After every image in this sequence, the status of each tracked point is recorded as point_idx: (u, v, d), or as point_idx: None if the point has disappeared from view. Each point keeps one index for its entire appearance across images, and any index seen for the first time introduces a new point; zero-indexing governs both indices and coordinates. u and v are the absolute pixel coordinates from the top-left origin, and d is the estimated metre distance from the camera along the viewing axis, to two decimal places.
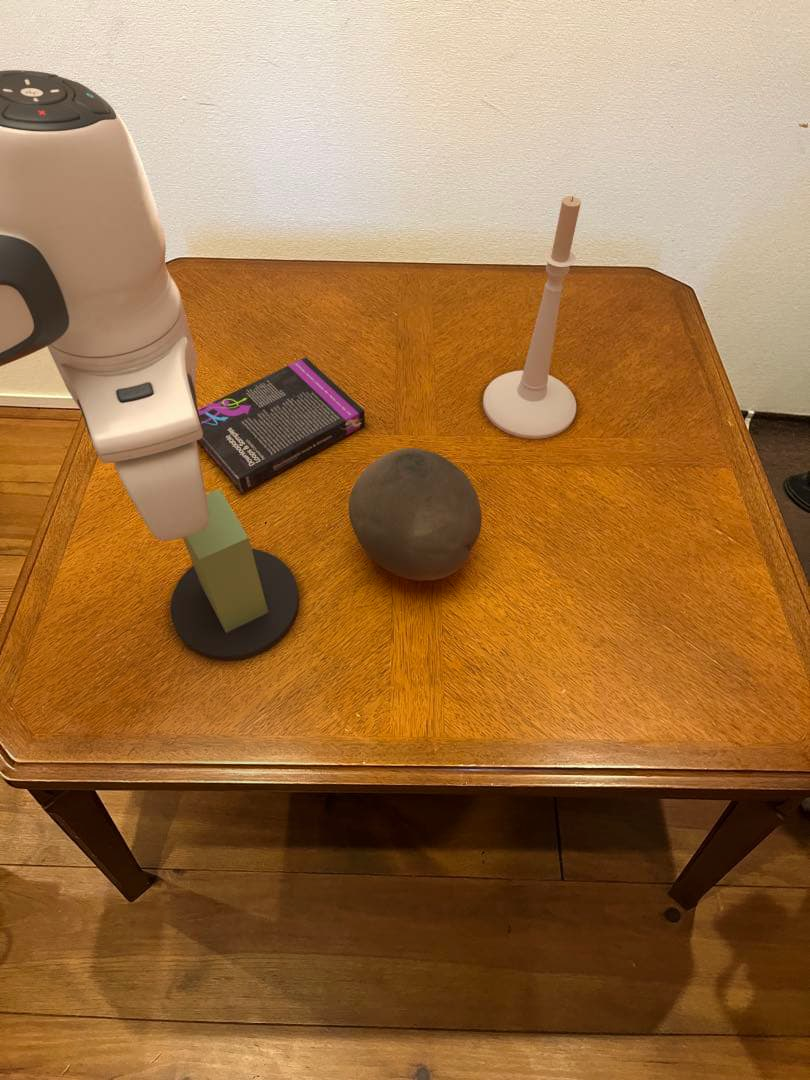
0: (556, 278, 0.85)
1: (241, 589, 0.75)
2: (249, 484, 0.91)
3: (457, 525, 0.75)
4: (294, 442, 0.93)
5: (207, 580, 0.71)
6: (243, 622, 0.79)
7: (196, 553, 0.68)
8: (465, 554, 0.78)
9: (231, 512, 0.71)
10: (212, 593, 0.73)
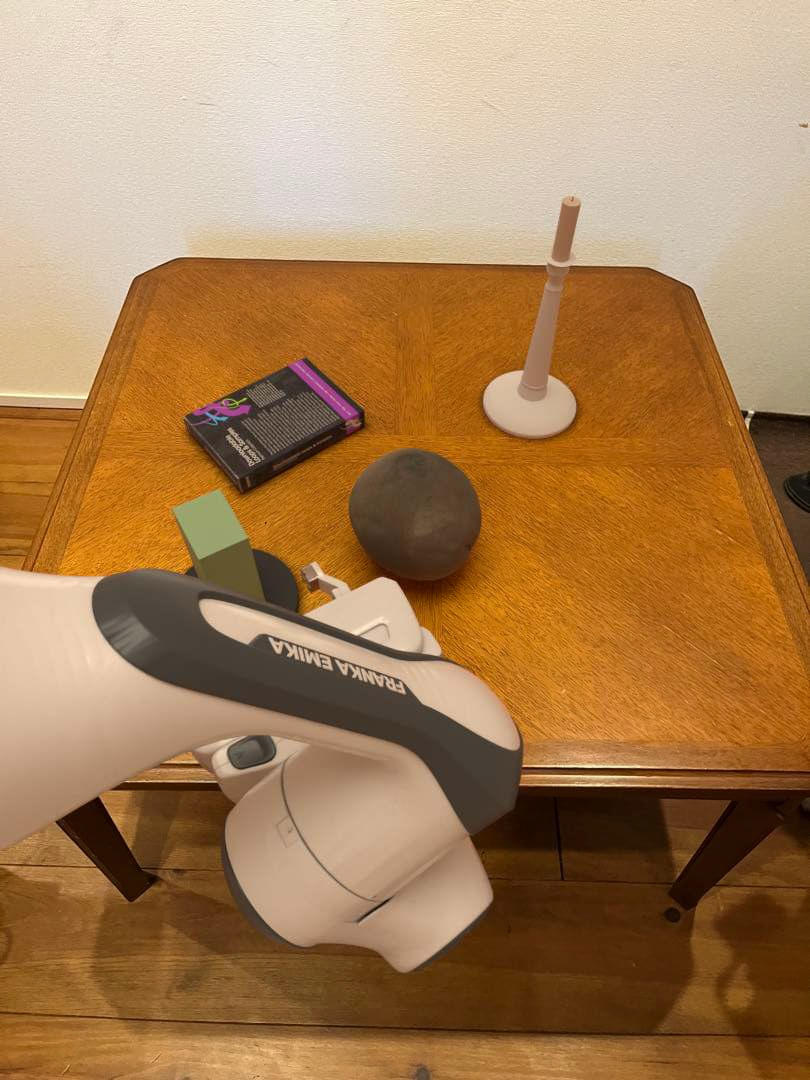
0: (556, 278, 0.85)
1: (241, 589, 0.75)
2: (249, 484, 0.91)
3: (457, 525, 0.75)
4: (294, 442, 0.93)
5: (207, 580, 0.71)
6: None
7: (196, 553, 0.68)
8: (465, 554, 0.78)
9: (231, 512, 0.71)
10: None
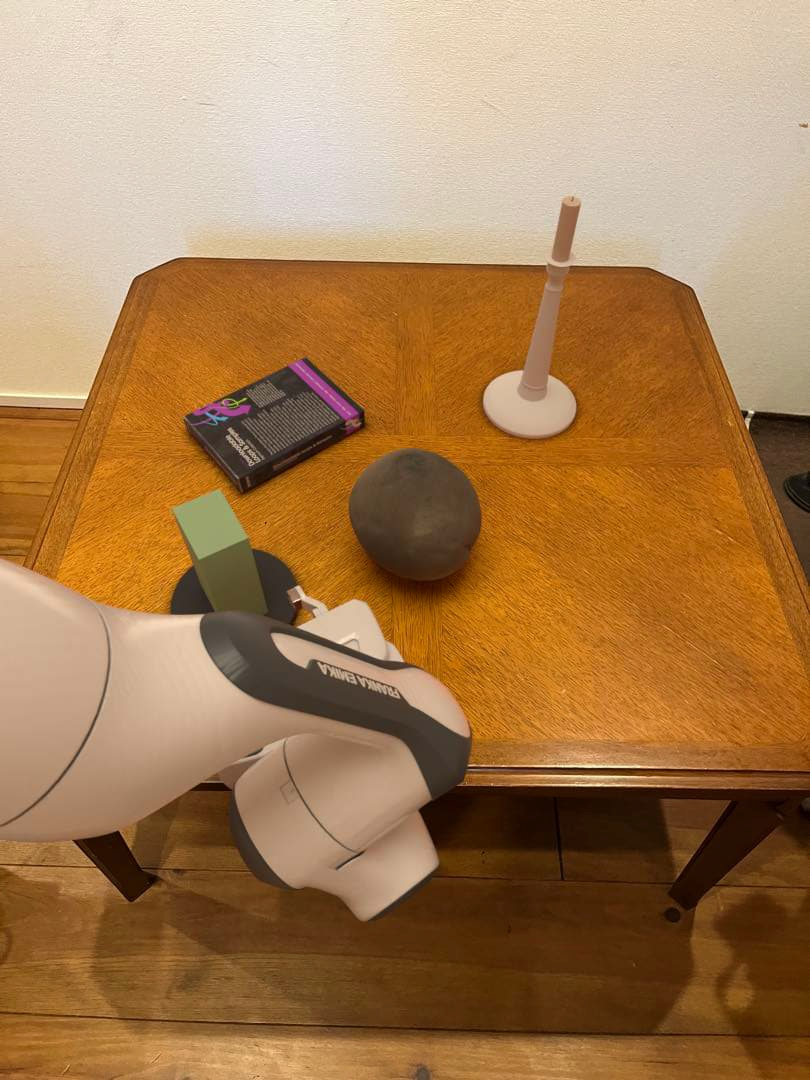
0: (556, 278, 0.85)
1: (241, 589, 0.75)
2: (249, 484, 0.91)
3: (457, 525, 0.75)
4: (294, 442, 0.93)
5: (207, 580, 0.71)
6: None
7: (196, 553, 0.68)
8: (465, 554, 0.78)
9: (231, 512, 0.71)
10: (212, 593, 0.73)
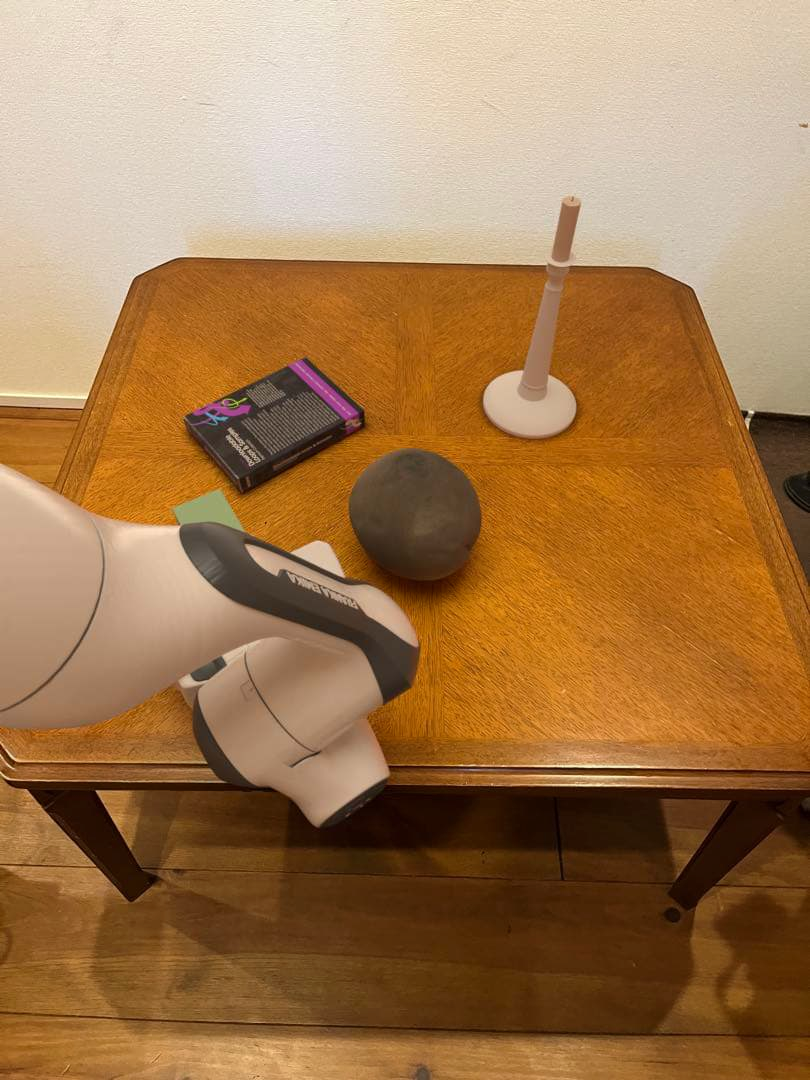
0: (556, 278, 0.85)
1: None
2: (249, 484, 0.91)
3: (457, 525, 0.75)
4: (294, 442, 0.93)
5: None
6: None
7: None
8: (465, 554, 0.78)
9: (232, 512, 0.71)
10: None
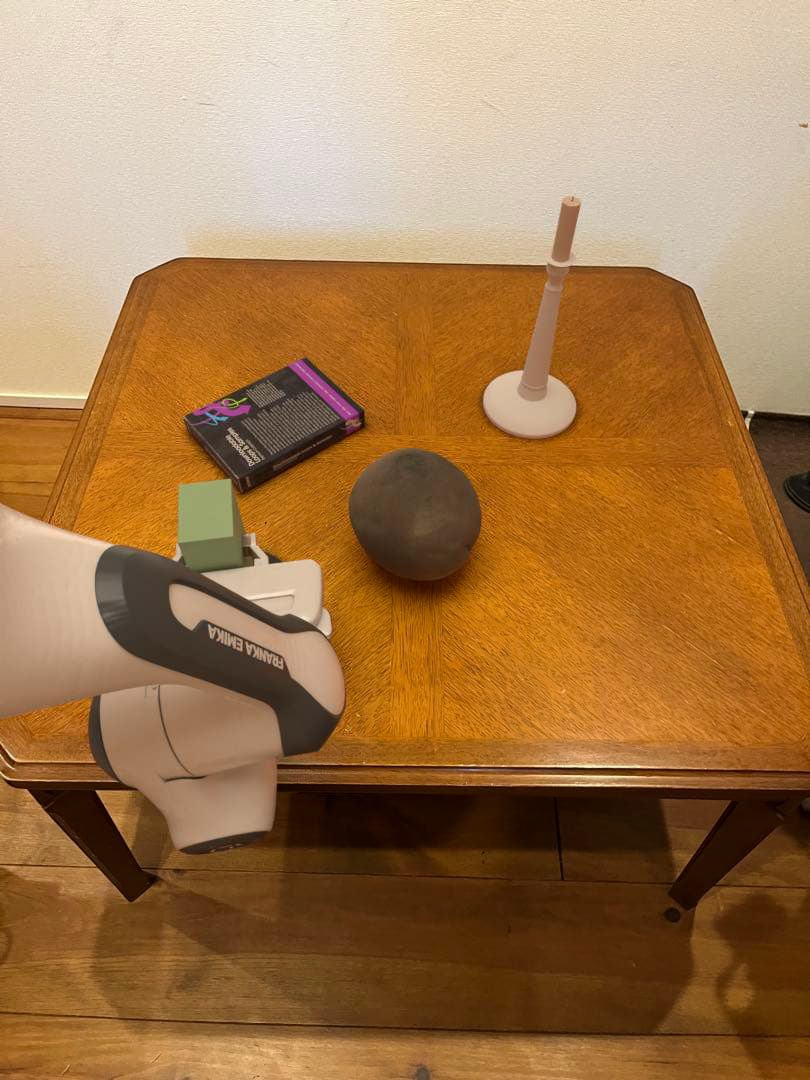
0: (556, 278, 0.85)
1: None
2: (249, 484, 0.91)
3: (457, 525, 0.75)
4: (294, 442, 0.93)
5: (187, 565, 0.69)
6: None
7: (178, 536, 0.67)
8: (465, 554, 0.78)
9: (230, 505, 0.69)
10: None
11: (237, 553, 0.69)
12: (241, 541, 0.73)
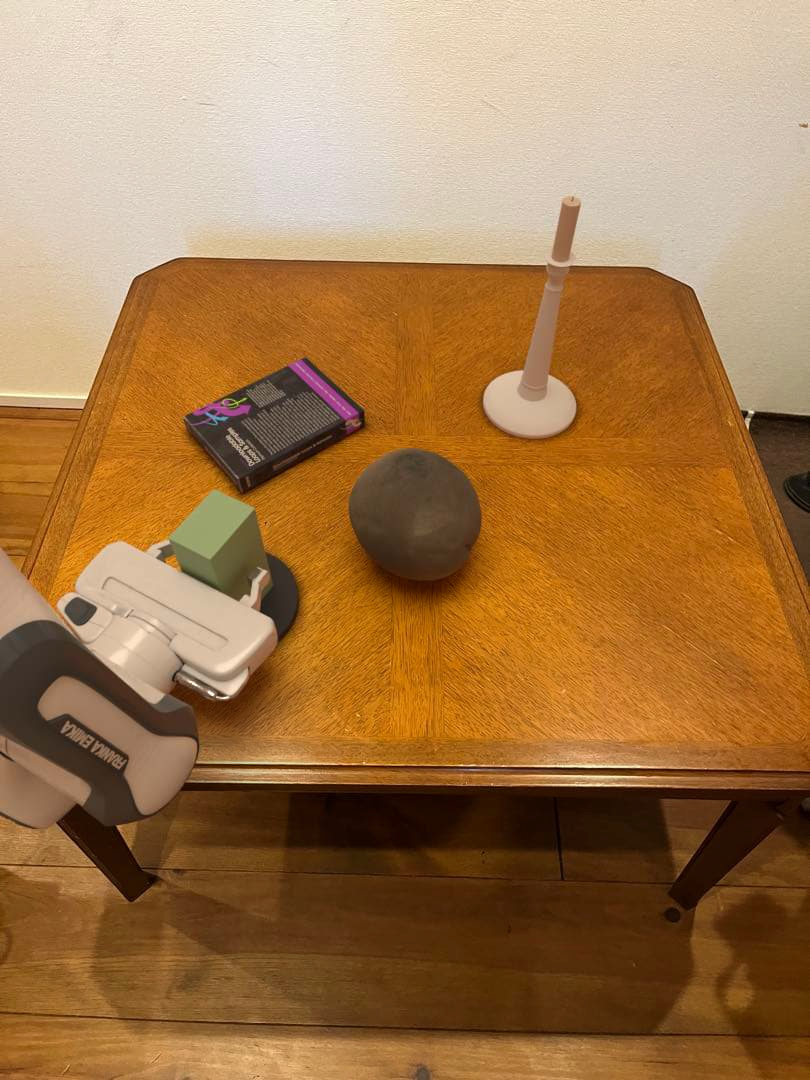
0: (556, 278, 0.85)
1: None
2: (249, 484, 0.91)
3: (457, 525, 0.75)
4: (294, 442, 0.93)
5: (177, 560, 0.72)
6: None
7: (173, 532, 0.70)
8: (465, 554, 0.78)
9: (232, 531, 0.70)
10: None
11: (215, 575, 0.70)
12: (240, 566, 0.74)
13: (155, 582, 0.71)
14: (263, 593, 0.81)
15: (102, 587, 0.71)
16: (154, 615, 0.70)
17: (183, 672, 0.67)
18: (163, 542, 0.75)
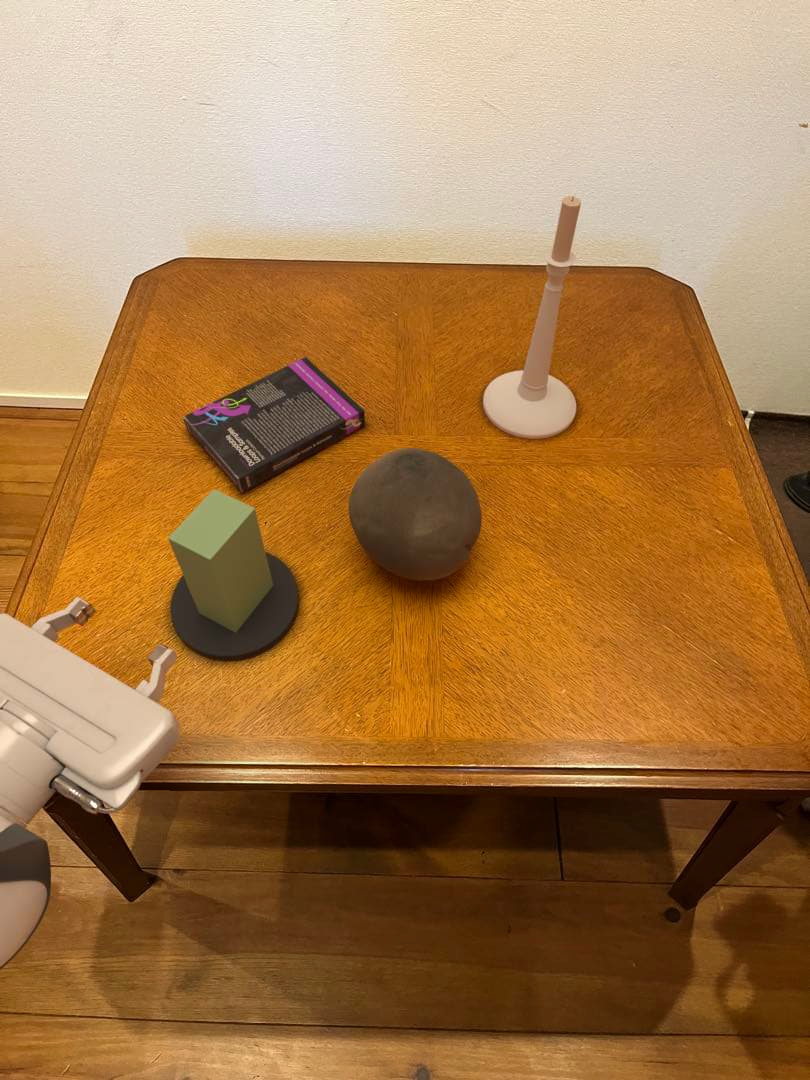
0: (556, 278, 0.85)
1: (208, 593, 0.74)
2: (249, 484, 0.91)
3: (457, 525, 0.75)
4: (294, 442, 0.93)
5: (177, 560, 0.72)
6: (213, 620, 0.80)
7: (173, 532, 0.70)
8: (465, 554, 0.78)
9: (232, 531, 0.70)
10: (183, 573, 0.74)
11: (215, 575, 0.70)
12: (240, 566, 0.74)
13: (38, 665, 0.61)
14: (263, 593, 0.81)
15: None
16: (33, 707, 0.59)
17: (63, 777, 0.57)
18: (54, 614, 0.65)
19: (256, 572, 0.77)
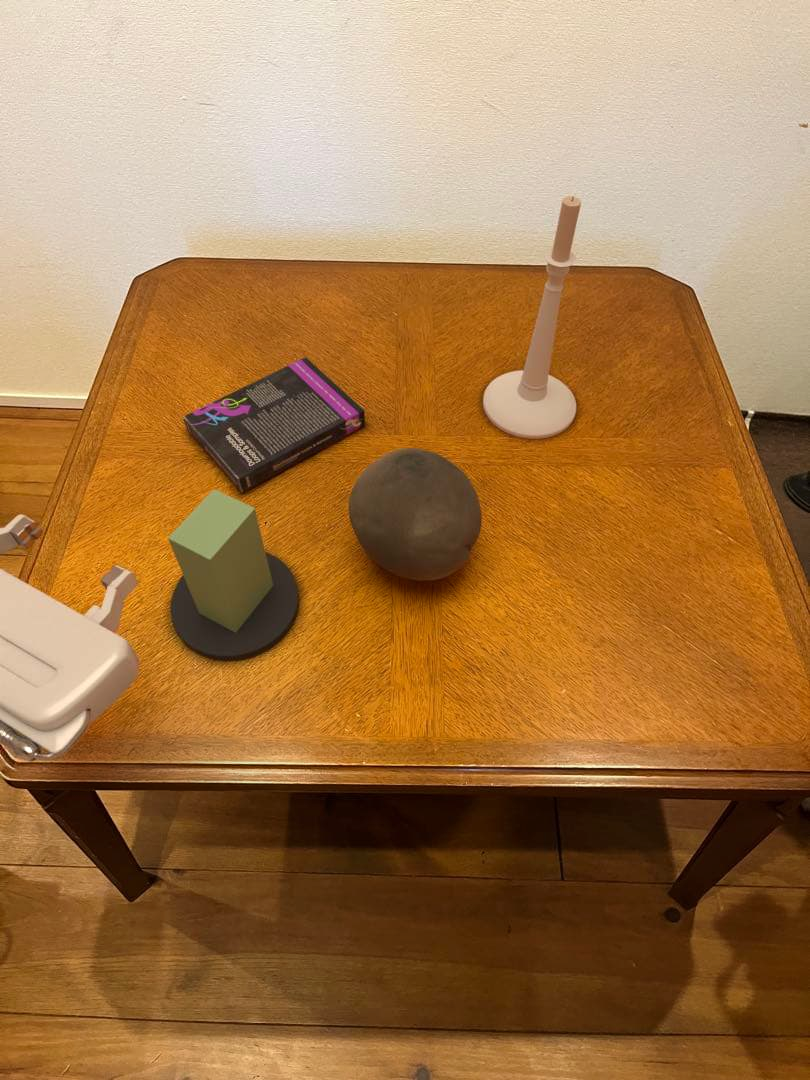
0: (556, 278, 0.85)
1: (208, 593, 0.74)
2: (249, 484, 0.91)
3: (457, 525, 0.75)
4: (294, 442, 0.93)
5: (177, 560, 0.72)
6: (213, 620, 0.80)
7: (173, 532, 0.70)
8: (465, 554, 0.78)
9: (232, 531, 0.70)
10: (183, 573, 0.74)
11: (215, 575, 0.70)
12: (240, 566, 0.74)
13: None
14: (263, 593, 0.81)
15: None
16: None
17: None
18: None
19: (256, 572, 0.77)
